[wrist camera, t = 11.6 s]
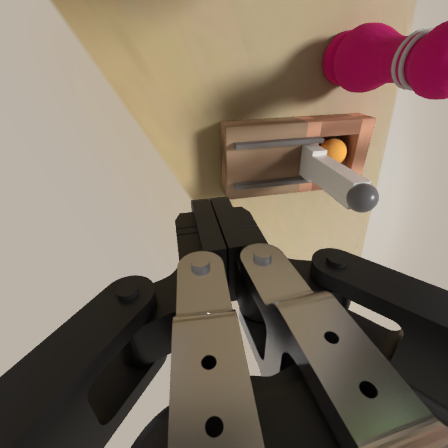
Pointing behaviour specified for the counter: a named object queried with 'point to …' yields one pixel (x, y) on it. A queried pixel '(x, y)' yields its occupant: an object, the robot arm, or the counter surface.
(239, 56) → the counter surface
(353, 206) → the launcher plunger
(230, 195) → the launcher track
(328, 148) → the ball
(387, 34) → the pepper mill
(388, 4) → the counter surface
